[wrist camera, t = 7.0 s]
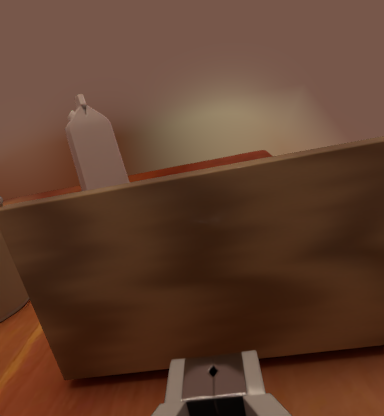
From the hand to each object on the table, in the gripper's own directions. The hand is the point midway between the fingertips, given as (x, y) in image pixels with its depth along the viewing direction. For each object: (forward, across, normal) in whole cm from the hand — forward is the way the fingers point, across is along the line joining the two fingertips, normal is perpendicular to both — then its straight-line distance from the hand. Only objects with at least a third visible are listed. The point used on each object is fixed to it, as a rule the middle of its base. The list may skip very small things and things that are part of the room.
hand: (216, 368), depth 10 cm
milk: (+71, +31, +7) cm, 78 cm away
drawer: (+13, 0, +7) cm, 15 cm away
